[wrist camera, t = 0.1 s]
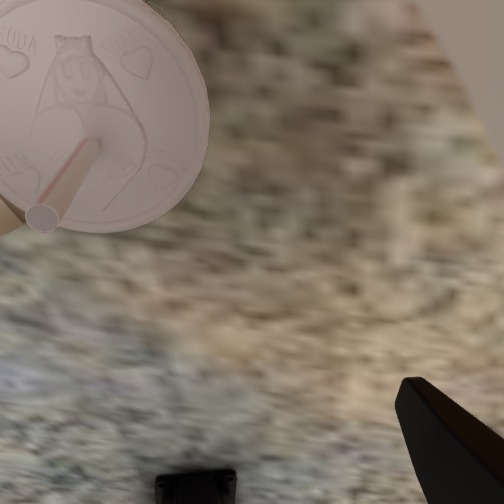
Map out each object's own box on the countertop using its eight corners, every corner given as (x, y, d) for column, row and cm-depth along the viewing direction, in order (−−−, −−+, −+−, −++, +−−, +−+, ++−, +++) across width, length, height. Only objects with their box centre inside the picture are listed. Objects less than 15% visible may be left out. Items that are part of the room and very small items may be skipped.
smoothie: (68, 144, 20) (-101, 347, 8) (36, -14, 17) (-314, -58, 5) (203, 142, 21) (227, 323, 9) (197, -9, 18) (224, -37, 6)
